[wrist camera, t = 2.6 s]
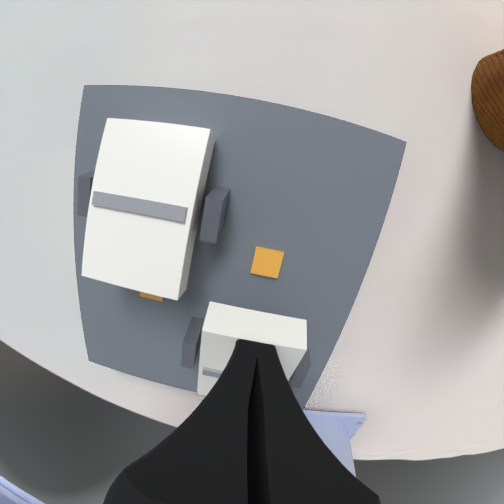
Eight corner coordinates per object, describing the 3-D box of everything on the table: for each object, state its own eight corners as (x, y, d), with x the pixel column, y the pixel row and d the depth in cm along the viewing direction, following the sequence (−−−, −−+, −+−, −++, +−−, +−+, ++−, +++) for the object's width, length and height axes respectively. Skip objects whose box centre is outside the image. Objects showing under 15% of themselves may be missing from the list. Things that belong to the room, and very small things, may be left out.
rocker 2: (273, 383, 16) (270, 409, 15) (202, 370, 16) (196, 396, 15) (306, 319, 12) (307, 353, 11) (209, 301, 12) (200, 333, 11)
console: (300, 376, 20) (304, 434, 15) (103, 332, 19) (72, 379, 15) (382, 137, 13) (428, 146, 9) (110, 89, 13) (53, 83, 8)
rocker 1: (186, 289, 12) (176, 302, 10) (98, 267, 12) (79, 276, 10) (215, 138, 11) (209, 128, 9) (122, 126, 11) (105, 116, 9)
